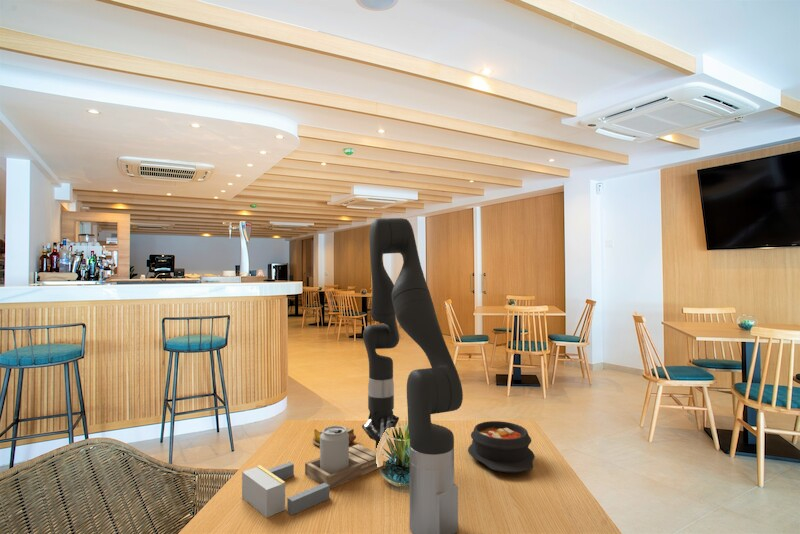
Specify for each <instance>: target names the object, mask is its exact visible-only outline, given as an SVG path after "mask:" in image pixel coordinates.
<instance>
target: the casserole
mask: <svg viewBox="0 0 800 534" xmlns="http://www.w3.org/2000/svg"><path fill="white" fill-rule="evenodd" d="M470 437H471V439H472V442H471V444H470V445H469V447H468V449H467V452H468V454H469V455H470V457H472V458H473V459H474V460H476V461H478V462H480V463H482V464H484V465H485V466H486V467H487V468H489V469H490V470H492V471H495V472H501V473H523V472H527V471H530V470H533V468H534V464H533V463H534V459H535V453H534V452H533V450H532V449H531V448H530V447H529V446H530V444H531V443H532V438H531V436H530V435H529V432H528V430H527V429H526V428H525V427H524V426H521V425H519V424H515V423H513V422H507V421H500V420H498V421H497V420H495V421H491V420H489V421H484V422H480V423H478V424H476V425H475V426H474V428H473V431H472V432H471V433H470Z"/></svg>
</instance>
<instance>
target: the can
mask: <svg viewBox="0 0 800 534" xmlns="http://www.w3.org/2000/svg"><path fill="white" fill-rule="evenodd" d="M346 428H347V427H345V426H342V425H330V426H327V427H325V428H323V429H322V432H323V433H322V434H321V436H320V447H319V453H320V454H319V458H320V469H322V470H324V471H325V472H327V473H329V474H333V473H335V472H338V471H340V470H343V469H345V468H348V467H349V447H350V443H349V434H348V433H347V432H346Z"/></svg>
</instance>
